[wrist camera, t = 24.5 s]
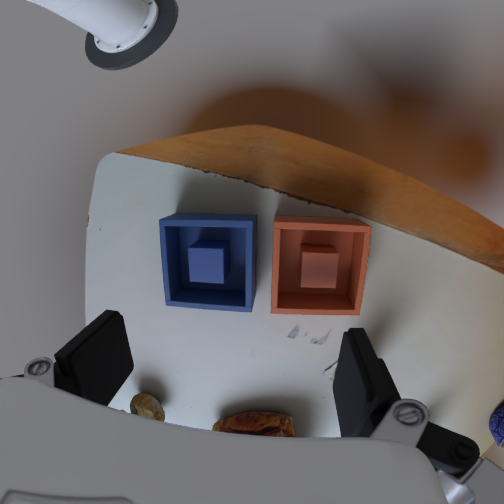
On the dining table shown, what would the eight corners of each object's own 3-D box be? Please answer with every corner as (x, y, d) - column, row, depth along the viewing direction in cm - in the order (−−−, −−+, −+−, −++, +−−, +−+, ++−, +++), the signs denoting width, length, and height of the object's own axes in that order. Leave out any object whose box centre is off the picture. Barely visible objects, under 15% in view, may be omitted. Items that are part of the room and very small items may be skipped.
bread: (301, 458, 51) (301, 492, 41) (223, 458, 53) (216, 490, 43) (303, 404, 45) (305, 444, 36) (206, 403, 48) (193, 441, 38)
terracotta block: (300, 243, 37) (302, 252, 33) (333, 244, 37) (339, 253, 33) (298, 275, 39) (300, 287, 34) (330, 276, 38) (335, 288, 34)
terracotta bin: (274, 215, 37) (273, 221, 32) (359, 219, 36) (371, 226, 31) (272, 295, 40) (270, 313, 35) (350, 297, 39) (359, 315, 34)
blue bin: (174, 213, 39) (158, 219, 33) (256, 214, 38) (252, 220, 32) (179, 290, 42) (165, 305, 36) (255, 294, 41) (251, 312, 35)
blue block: (198, 239, 39) (187, 247, 34) (229, 240, 38) (223, 248, 34) (199, 270, 40) (189, 281, 36) (230, 272, 39) (223, 283, 35)
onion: (153, 416, 51) (140, 441, 43) (129, 391, 50) (112, 415, 42) (177, 409, 49) (165, 437, 41) (151, 383, 48) (135, 409, 40)
